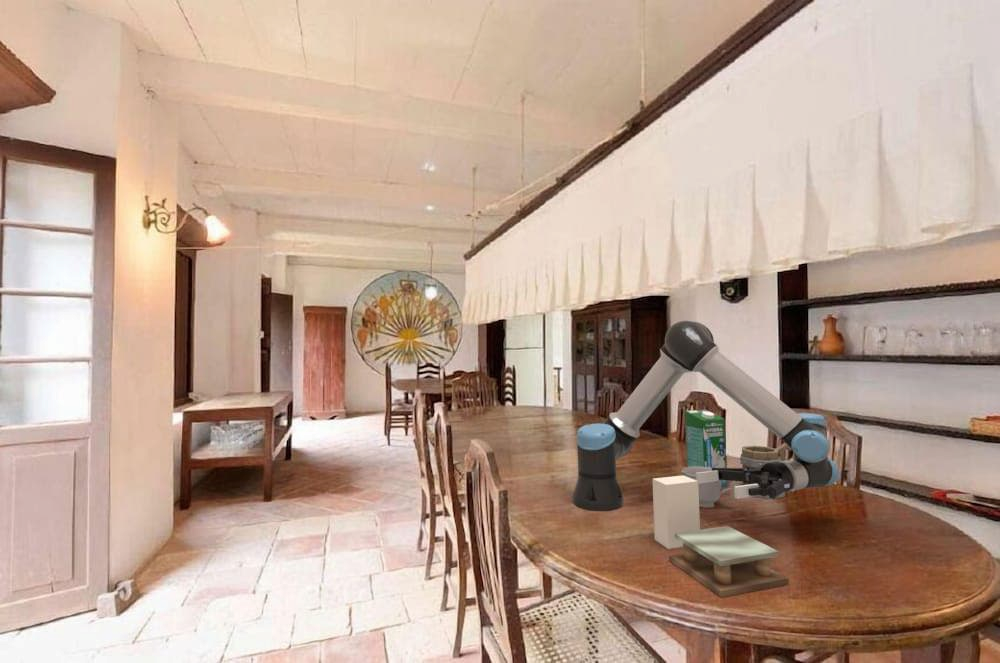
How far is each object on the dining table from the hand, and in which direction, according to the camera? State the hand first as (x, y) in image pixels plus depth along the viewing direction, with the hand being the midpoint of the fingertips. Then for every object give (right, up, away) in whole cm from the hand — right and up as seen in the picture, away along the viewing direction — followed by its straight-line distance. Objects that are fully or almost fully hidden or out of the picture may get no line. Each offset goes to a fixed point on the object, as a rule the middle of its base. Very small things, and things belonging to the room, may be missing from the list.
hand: (714, 485), depth 114 cm
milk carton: (+18, -15, +44) cm, 50 cm away
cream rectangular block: (-11, -13, -3) cm, 17 cm away
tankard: (+34, -14, +34) cm, 50 cm away
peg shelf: (-7, -12, -18) cm, 23 cm away
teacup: (+9, -14, +22) cm, 27 cm away
